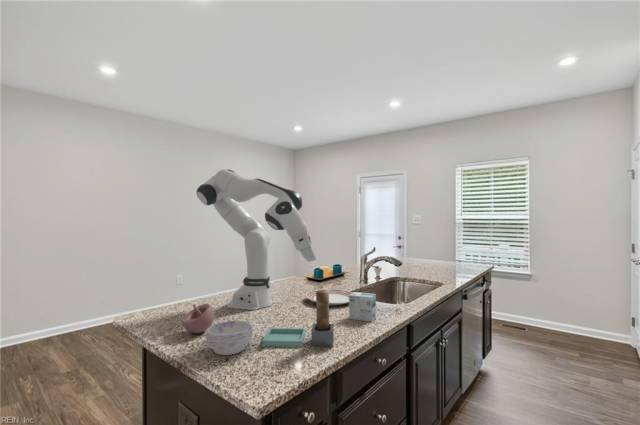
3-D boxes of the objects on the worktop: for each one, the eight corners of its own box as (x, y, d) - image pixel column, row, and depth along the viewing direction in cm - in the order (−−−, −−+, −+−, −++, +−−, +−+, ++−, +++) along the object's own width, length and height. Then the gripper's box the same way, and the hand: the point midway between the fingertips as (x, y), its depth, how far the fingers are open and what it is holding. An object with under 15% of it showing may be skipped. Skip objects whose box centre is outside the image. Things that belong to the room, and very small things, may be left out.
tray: (262, 347, 110) (262, 340, 110) (270, 334, 122) (270, 327, 122) (302, 348, 109) (302, 341, 109) (306, 335, 121) (305, 328, 121)
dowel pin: (316, 344, 111) (315, 293, 111) (317, 339, 115) (316, 290, 115) (328, 345, 110) (328, 293, 110) (329, 339, 115) (329, 290, 115)
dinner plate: (357, 294, 180) (357, 289, 180) (356, 309, 153) (356, 302, 153) (310, 293, 184) (310, 287, 184) (301, 307, 157) (301, 301, 157)
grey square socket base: (311, 348, 109) (311, 331, 109) (313, 339, 117) (313, 323, 117) (333, 348, 109) (333, 331, 109) (333, 340, 116) (333, 323, 116)
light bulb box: (376, 317, 140) (376, 293, 140) (372, 322, 134) (372, 297, 134) (353, 314, 145) (353, 291, 145) (348, 319, 139) (348, 294, 139)
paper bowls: (232, 337, 119) (232, 316, 119) (261, 347, 111) (261, 324, 111) (196, 352, 107) (196, 329, 107) (225, 364, 98) (225, 339, 98)
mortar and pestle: (178, 331, 126) (178, 302, 126) (208, 324, 133) (208, 297, 133) (186, 341, 117) (186, 310, 117) (218, 333, 124) (218, 304, 124)
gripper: (289, 220, 143) (301, 239, 152) (297, 251, 128) (310, 270, 136) (301, 214, 143) (313, 234, 152) (311, 245, 127) (323, 264, 136)
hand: (312, 251), depth 144 cm, fingers open, 8 cm apart
